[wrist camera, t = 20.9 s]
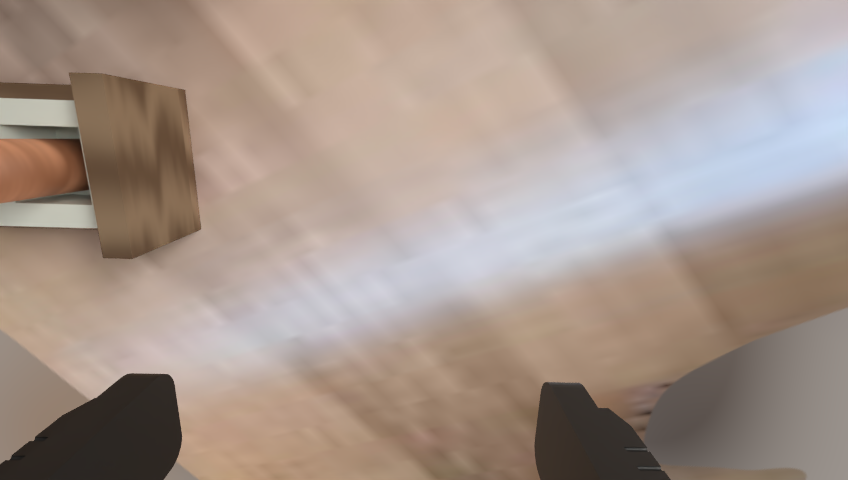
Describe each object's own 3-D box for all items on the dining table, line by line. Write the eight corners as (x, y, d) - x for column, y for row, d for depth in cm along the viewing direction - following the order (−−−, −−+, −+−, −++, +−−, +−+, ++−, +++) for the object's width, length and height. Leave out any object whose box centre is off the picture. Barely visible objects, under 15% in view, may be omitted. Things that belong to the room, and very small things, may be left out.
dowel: (64, 137, 32) (-92, 136, 22) (114, 140, 32) (-19, 140, 22) (73, 186, 33) (-73, 206, 23) (121, 189, 33) (-4, 210, 23)
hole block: (39, 103, 32) (-36, 96, 27) (151, 107, 32) (98, 101, 27) (61, 211, 34) (-4, 225, 29) (166, 214, 35) (120, 229, 29)
